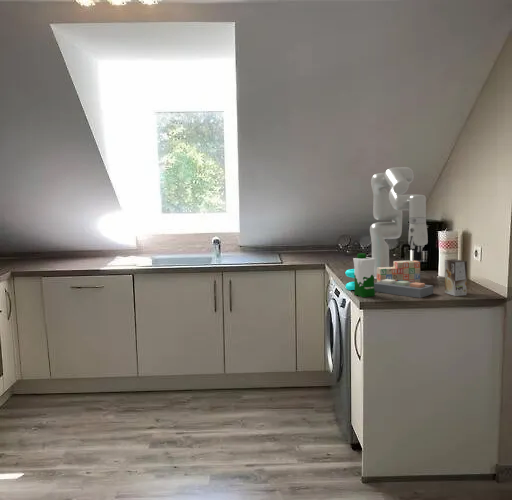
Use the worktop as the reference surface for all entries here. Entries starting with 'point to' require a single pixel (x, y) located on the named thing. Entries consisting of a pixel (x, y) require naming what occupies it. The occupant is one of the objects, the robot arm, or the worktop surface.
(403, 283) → the sage key
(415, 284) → the terracotta key
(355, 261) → the milk carton
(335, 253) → the worktop surface
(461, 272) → the coffee box
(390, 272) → the stack of blocks
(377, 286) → the key panel
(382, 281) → the cream key
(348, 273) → the donuts
